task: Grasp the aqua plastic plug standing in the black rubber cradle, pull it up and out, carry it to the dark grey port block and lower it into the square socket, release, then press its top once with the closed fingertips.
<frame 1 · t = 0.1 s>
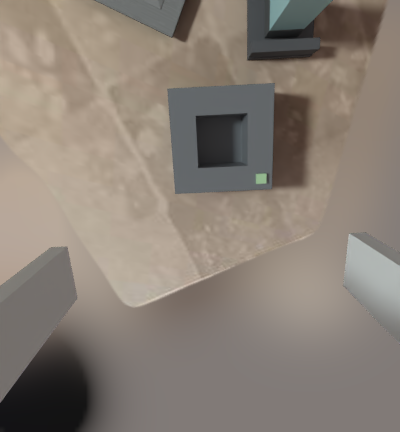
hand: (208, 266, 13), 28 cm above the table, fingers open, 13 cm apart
port block: (218, 140, 38), on the table
holster: (279, 20, 34), on the table
plug: (281, 18, 34), point 1 cm above the table, touching holster
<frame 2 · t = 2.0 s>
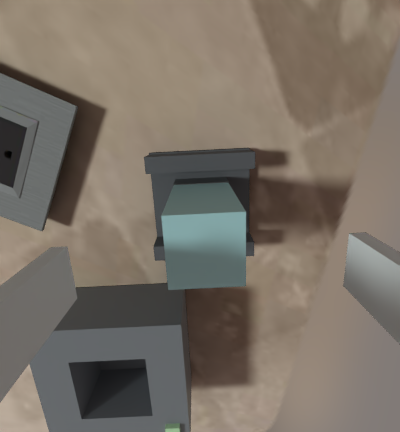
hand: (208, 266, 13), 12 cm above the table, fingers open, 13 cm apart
port block: (129, 337, 28), on the table
holster: (201, 199, 24), on the table
plug: (201, 202, 23), point 1 cm above the table, touching holster
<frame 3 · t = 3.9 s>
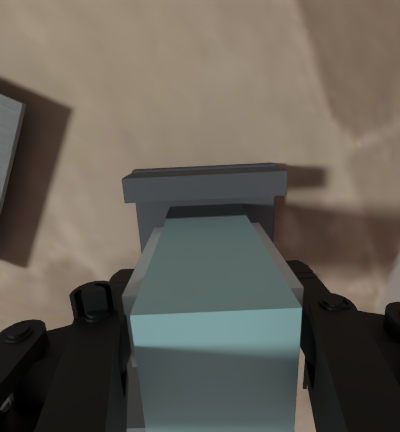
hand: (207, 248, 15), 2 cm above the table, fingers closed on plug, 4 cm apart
port block: (110, 408, 21), on the table
holster: (206, 233, 17), on the table
plug: (206, 238, 17), point 1 cm above the table, touching gripper, holster
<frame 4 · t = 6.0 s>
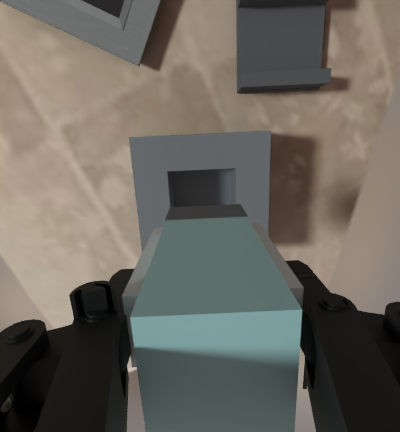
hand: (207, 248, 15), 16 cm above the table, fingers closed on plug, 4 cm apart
port block: (201, 190, 31), on the table
holster: (278, 44, 27), on the table
plug: (206, 238, 17), point 15 cm above the table, touching gripper
when the fingers open (7 cm above the table, at t = 8.2 s): plug drops 5 cm, resting on port block.
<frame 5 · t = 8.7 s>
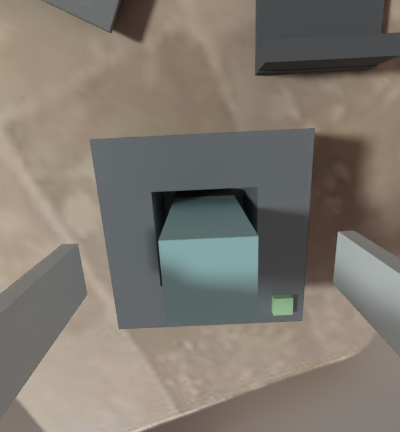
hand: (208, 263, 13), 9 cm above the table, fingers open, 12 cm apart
port block: (204, 212, 22), on the table
holster: (316, 1, 18), on the table
plug: (204, 216, 21), point 1 cm above the table, touching port block
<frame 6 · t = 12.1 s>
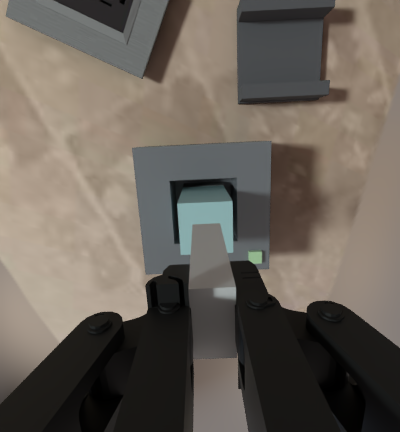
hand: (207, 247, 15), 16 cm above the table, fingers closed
port block: (203, 198, 31), on the table
holster: (277, 56, 27), on the table
plug: (203, 201, 30), point 1 cm above the table, touching port block
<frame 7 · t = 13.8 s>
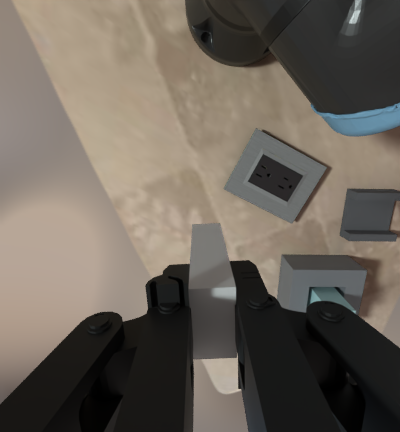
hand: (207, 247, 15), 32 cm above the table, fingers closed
port block: (310, 284, 52), on the table
holster: (366, 212, 48), on the table
electrical outlet: (271, 176, 47), on the table
plug: (312, 287, 51), point 1 cm above the table, touching port block
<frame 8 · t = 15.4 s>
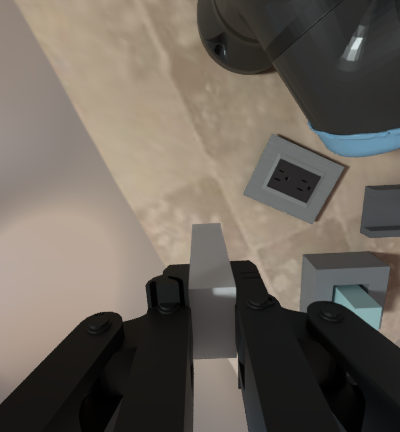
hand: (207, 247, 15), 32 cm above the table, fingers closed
port block: (332, 282, 52), on the table
holster: (385, 208, 48), on the table
electrical outlet: (288, 179, 47), on the table
plug: (335, 285, 51), point 1 cm above the table, touching port block
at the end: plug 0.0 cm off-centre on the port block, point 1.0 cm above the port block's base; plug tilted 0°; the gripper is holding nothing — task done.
